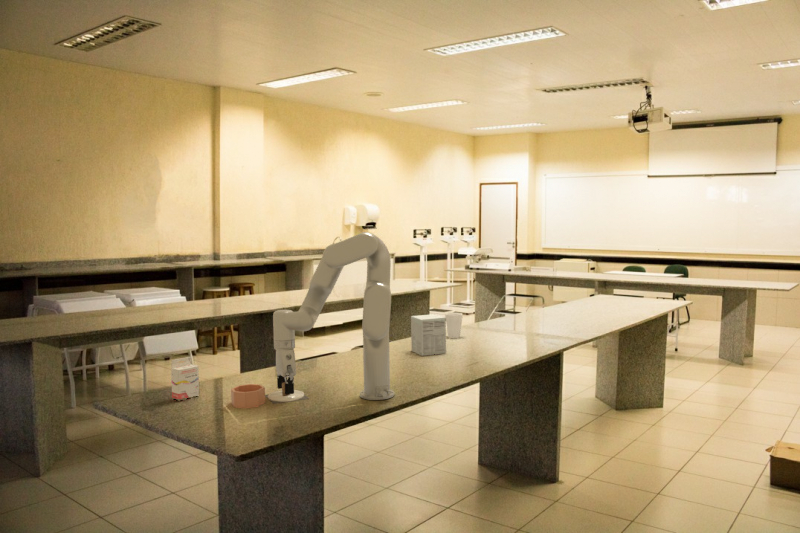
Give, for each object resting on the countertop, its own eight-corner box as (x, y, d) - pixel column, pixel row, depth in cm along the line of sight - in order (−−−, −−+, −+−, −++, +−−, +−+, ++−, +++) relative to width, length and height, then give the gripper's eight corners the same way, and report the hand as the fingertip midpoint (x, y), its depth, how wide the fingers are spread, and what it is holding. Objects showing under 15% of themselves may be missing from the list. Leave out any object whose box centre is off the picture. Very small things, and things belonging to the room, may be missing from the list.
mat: (309, 400, 223) (309, 398, 223) (273, 405, 218) (273, 404, 217) (297, 391, 235) (297, 390, 235) (263, 396, 229) (263, 395, 229)
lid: (309, 398, 223) (308, 384, 223) (273, 404, 217) (273, 389, 217) (297, 390, 235) (297, 376, 235) (263, 395, 229) (263, 381, 229)
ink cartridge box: (179, 402, 225) (177, 361, 223) (171, 399, 228) (169, 360, 227) (200, 396, 231) (198, 357, 230) (192, 394, 234) (190, 355, 233)
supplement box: (446, 353, 298) (446, 317, 297) (421, 356, 293) (421, 319, 292) (435, 348, 310) (434, 313, 309) (410, 351, 306) (410, 315, 304)
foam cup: (443, 338, 336) (443, 314, 335) (447, 335, 345) (447, 312, 344) (461, 339, 333) (460, 315, 332) (464, 336, 342) (464, 312, 341)
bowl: (267, 406, 217) (267, 389, 216) (236, 411, 212) (235, 394, 211) (259, 399, 226) (259, 382, 226) (229, 403, 221) (229, 386, 221)
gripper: (302, 347, 219) (303, 395, 220) (287, 339, 234) (288, 384, 235) (281, 349, 215) (282, 398, 217) (267, 341, 231) (269, 387, 232)
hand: (285, 390), depth 226 cm, fingers open, 8 cm apart
